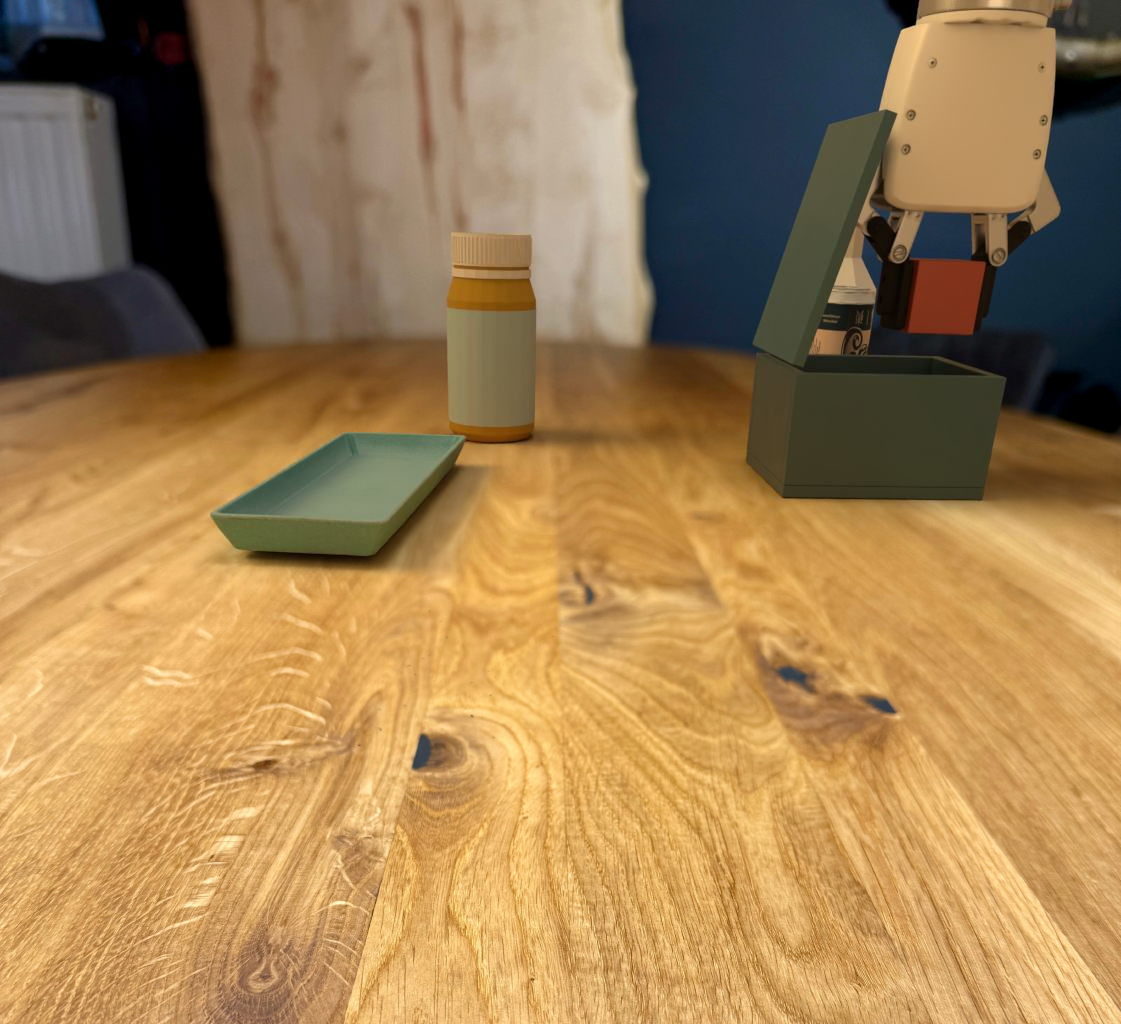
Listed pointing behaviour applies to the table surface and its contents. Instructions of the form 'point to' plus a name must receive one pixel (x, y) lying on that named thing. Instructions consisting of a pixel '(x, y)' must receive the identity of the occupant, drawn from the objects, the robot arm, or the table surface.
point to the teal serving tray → (340, 494)
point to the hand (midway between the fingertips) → (929, 325)
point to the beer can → (845, 322)
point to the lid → (822, 234)
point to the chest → (873, 426)
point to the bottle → (491, 337)
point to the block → (944, 296)
